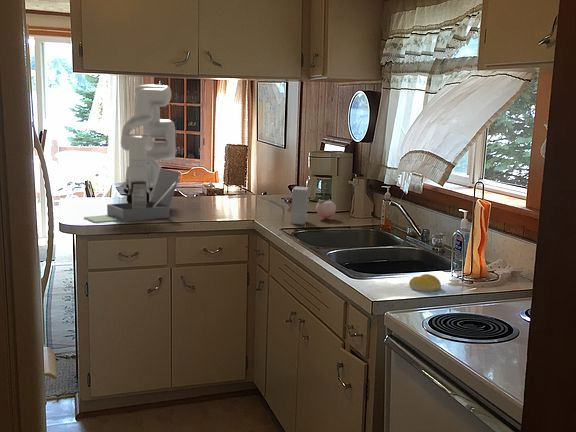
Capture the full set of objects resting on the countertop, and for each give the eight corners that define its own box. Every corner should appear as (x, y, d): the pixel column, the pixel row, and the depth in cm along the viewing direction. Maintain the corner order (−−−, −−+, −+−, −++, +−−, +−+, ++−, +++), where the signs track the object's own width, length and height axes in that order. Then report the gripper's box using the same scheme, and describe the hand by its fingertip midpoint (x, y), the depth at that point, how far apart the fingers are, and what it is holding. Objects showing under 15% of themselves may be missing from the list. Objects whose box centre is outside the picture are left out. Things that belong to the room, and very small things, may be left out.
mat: (84, 218, 280) (84, 216, 279) (106, 216, 286) (106, 215, 285) (95, 223, 269) (95, 221, 269) (117, 221, 275) (117, 219, 275)
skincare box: (292, 220, 288) (293, 185, 285) (308, 221, 287) (309, 186, 284) (289, 223, 280) (290, 188, 277) (305, 224, 279) (306, 189, 276)
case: (107, 215, 288) (106, 170, 285) (162, 210, 305) (162, 168, 301) (124, 222, 273) (123, 175, 270) (181, 216, 290) (181, 172, 286)
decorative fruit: (324, 221, 287) (324, 199, 285) (312, 218, 294) (313, 197, 292) (339, 220, 292) (340, 198, 291) (328, 217, 299) (329, 196, 297)
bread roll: (403, 287, 186) (404, 274, 186) (424, 283, 192) (424, 270, 191) (425, 294, 180) (426, 281, 179) (445, 290, 185) (446, 276, 185)
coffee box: (129, 214, 291) (129, 179, 288) (144, 214, 293) (143, 179, 290) (132, 218, 283) (131, 182, 280) (147, 217, 285) (146, 182, 282)
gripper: (152, 162, 292) (152, 200, 295) (115, 163, 282) (116, 202, 285) (159, 163, 286) (159, 202, 289) (122, 165, 276) (123, 205, 279)
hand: (138, 202), depth 287 cm, fingers closed on coffee box, 7 cm apart
